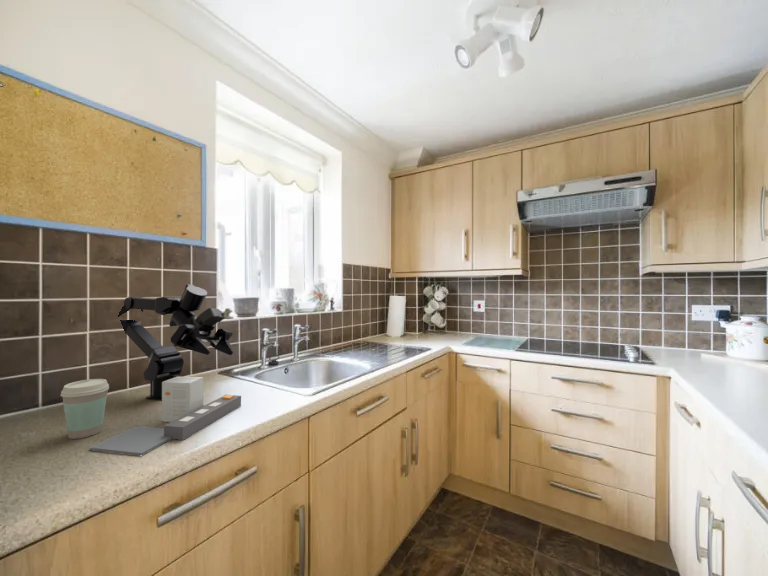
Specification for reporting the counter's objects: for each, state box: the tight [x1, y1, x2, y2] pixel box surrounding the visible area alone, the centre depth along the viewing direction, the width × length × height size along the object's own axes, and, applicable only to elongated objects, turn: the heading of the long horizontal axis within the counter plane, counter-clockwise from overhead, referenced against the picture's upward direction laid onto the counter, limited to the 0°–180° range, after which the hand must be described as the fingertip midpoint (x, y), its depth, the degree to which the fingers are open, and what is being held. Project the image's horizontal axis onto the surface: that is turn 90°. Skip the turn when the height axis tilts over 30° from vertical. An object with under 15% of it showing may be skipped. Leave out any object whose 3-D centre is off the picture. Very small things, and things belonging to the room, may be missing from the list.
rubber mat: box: [88, 425, 172, 456], centre depth 72 cm, size 13×11×1 cm
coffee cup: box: [60, 378, 110, 440], centre depth 76 cm, size 8×8×12 cm
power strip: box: [163, 394, 242, 441], centre depth 84 cm, size 5×22×4 cm, turn 171°
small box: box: [161, 375, 205, 423], centre depth 85 cm, size 8×6×10 cm
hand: (221, 353), depth 93 cm, fingers open, 9 cm apart
